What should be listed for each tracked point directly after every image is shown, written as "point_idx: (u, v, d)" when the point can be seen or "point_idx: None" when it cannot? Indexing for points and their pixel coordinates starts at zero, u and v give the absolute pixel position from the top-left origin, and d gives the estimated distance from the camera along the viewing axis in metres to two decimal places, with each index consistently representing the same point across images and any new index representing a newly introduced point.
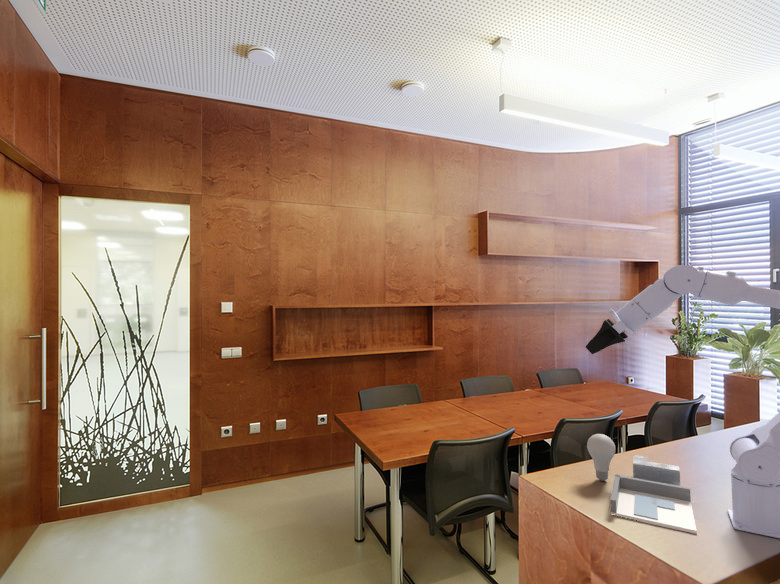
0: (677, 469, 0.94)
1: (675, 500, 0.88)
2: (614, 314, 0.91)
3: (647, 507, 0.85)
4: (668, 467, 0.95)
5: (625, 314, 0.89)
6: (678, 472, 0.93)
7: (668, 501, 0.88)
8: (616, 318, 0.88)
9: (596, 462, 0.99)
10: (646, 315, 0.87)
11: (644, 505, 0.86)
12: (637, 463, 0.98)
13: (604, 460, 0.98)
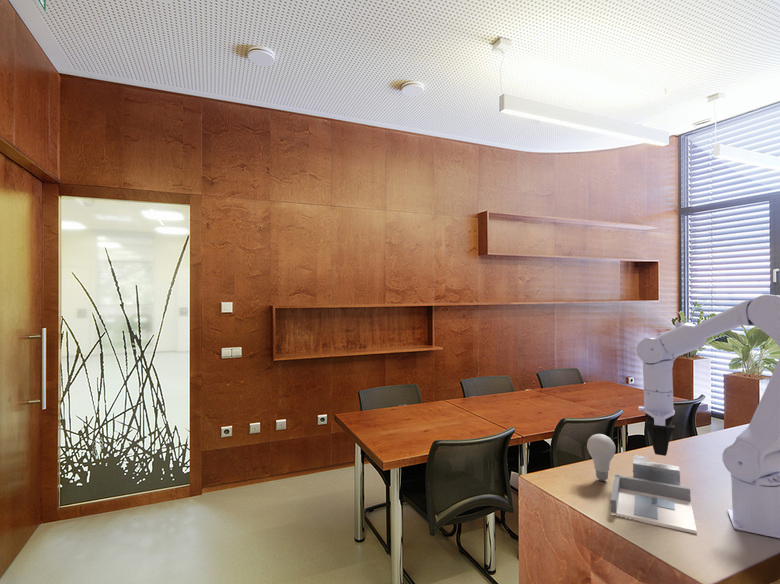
0: (677, 469, 0.94)
1: (675, 500, 0.88)
2: (645, 410, 0.96)
3: (647, 507, 0.85)
4: (668, 467, 0.95)
5: (652, 405, 0.95)
6: (678, 472, 0.93)
7: (668, 501, 0.88)
8: (650, 414, 0.94)
9: (596, 462, 0.99)
10: (665, 394, 0.94)
11: (644, 505, 0.86)
12: (637, 463, 0.98)
13: (604, 460, 0.98)
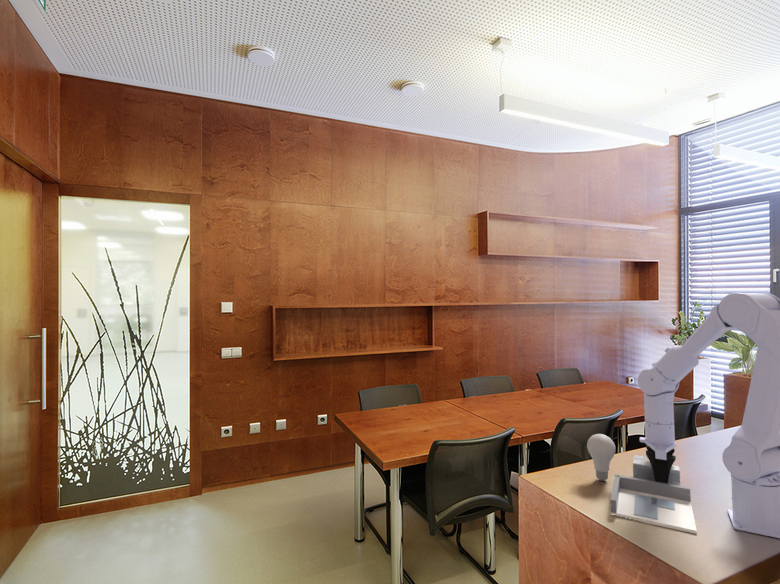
0: (677, 469, 0.94)
1: (675, 500, 0.88)
2: (646, 442, 0.96)
3: (647, 507, 0.85)
4: None
5: (653, 437, 0.95)
6: (678, 472, 0.93)
7: (668, 501, 0.88)
8: (651, 446, 0.94)
9: (596, 462, 0.99)
10: (667, 426, 0.94)
11: (644, 505, 0.86)
12: (637, 463, 0.98)
13: (604, 460, 0.98)
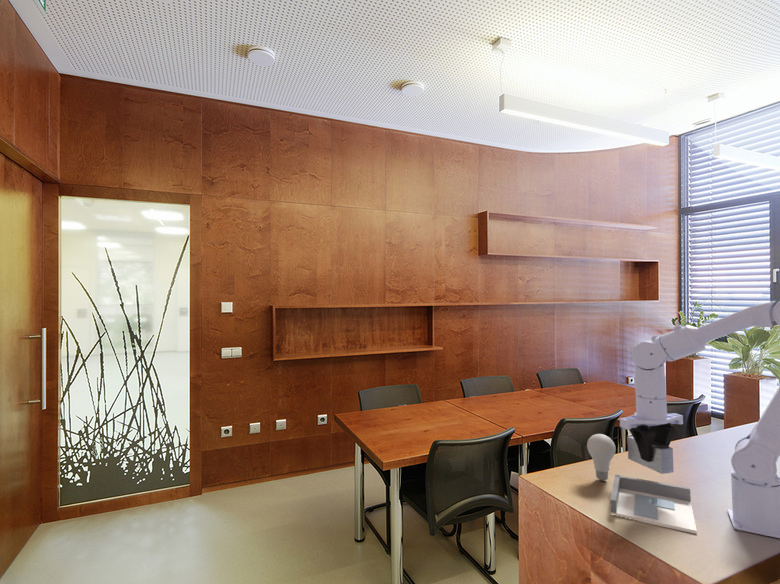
0: (661, 448, 0.88)
1: (675, 500, 0.88)
2: None
3: (647, 507, 0.85)
4: (655, 445, 0.89)
5: (636, 410, 0.92)
6: (659, 451, 0.87)
7: (668, 501, 0.88)
8: None
9: (596, 462, 0.99)
10: (646, 400, 0.89)
11: (644, 505, 0.86)
12: (632, 437, 0.95)
13: (604, 460, 0.98)
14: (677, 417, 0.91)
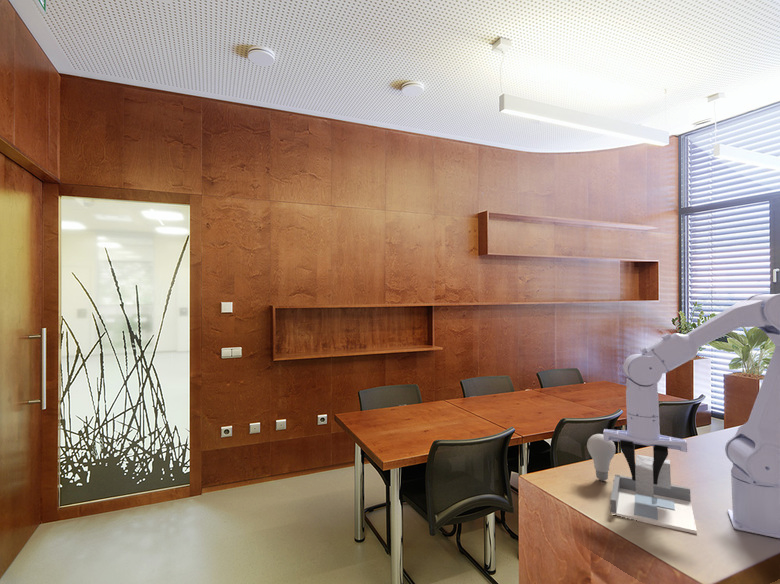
0: (639, 468, 0.83)
1: (675, 500, 0.88)
2: None
3: (647, 507, 0.85)
4: (640, 465, 0.85)
5: None
6: (635, 469, 0.83)
7: (668, 501, 0.88)
8: None
9: (596, 462, 0.99)
10: (628, 415, 0.86)
11: (644, 505, 0.86)
12: (638, 456, 0.90)
13: (604, 460, 0.98)
14: (676, 442, 0.82)
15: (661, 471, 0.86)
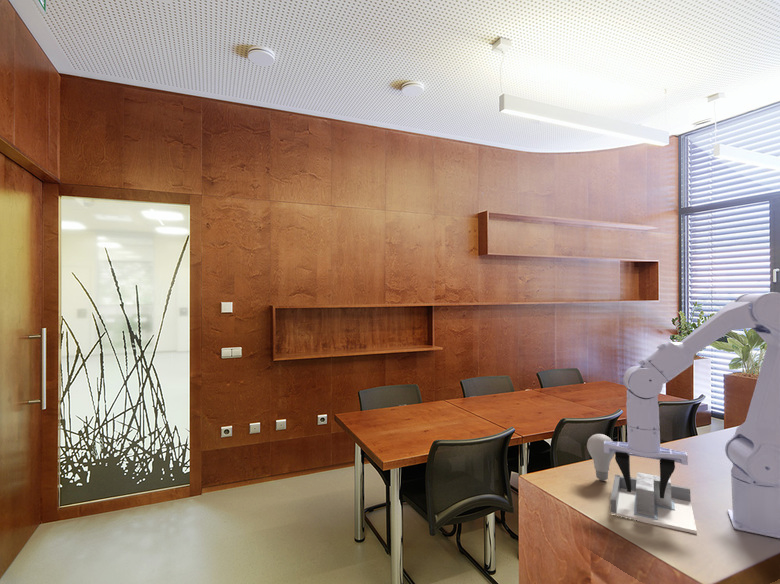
0: (639, 488, 0.83)
1: (675, 500, 0.88)
2: None
3: None
4: (641, 485, 0.84)
5: None
6: None
7: None
8: None
9: (596, 462, 0.99)
10: (628, 427, 0.86)
11: None
12: (639, 474, 0.90)
13: (604, 460, 0.98)
14: (676, 455, 0.82)
15: None
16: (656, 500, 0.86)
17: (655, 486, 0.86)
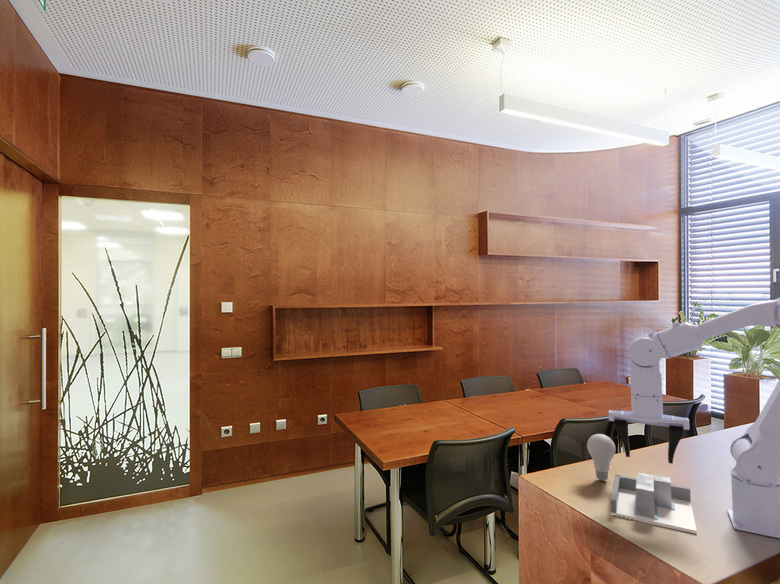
0: (639, 488, 0.83)
1: (675, 500, 0.88)
2: None
3: None
4: (641, 485, 0.84)
5: None
6: None
7: None
8: None
9: (596, 462, 0.99)
10: (632, 396, 0.89)
11: None
12: (639, 474, 0.90)
13: (604, 460, 0.98)
14: (678, 420, 0.85)
15: (662, 490, 0.86)
16: (656, 500, 0.86)
17: (655, 486, 0.86)
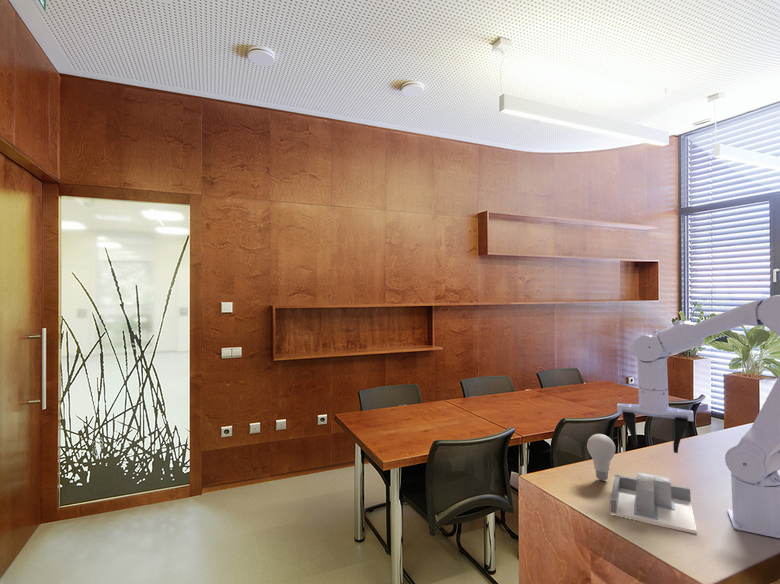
0: (639, 488, 0.83)
1: (675, 500, 0.88)
2: None
3: None
4: (641, 485, 0.84)
5: None
6: None
7: None
8: None
9: (596, 462, 0.99)
10: (640, 389, 0.95)
11: None
12: (639, 474, 0.90)
13: (604, 460, 0.98)
14: (683, 413, 0.91)
15: (662, 490, 0.86)
16: (656, 500, 0.86)
17: (655, 486, 0.86)
